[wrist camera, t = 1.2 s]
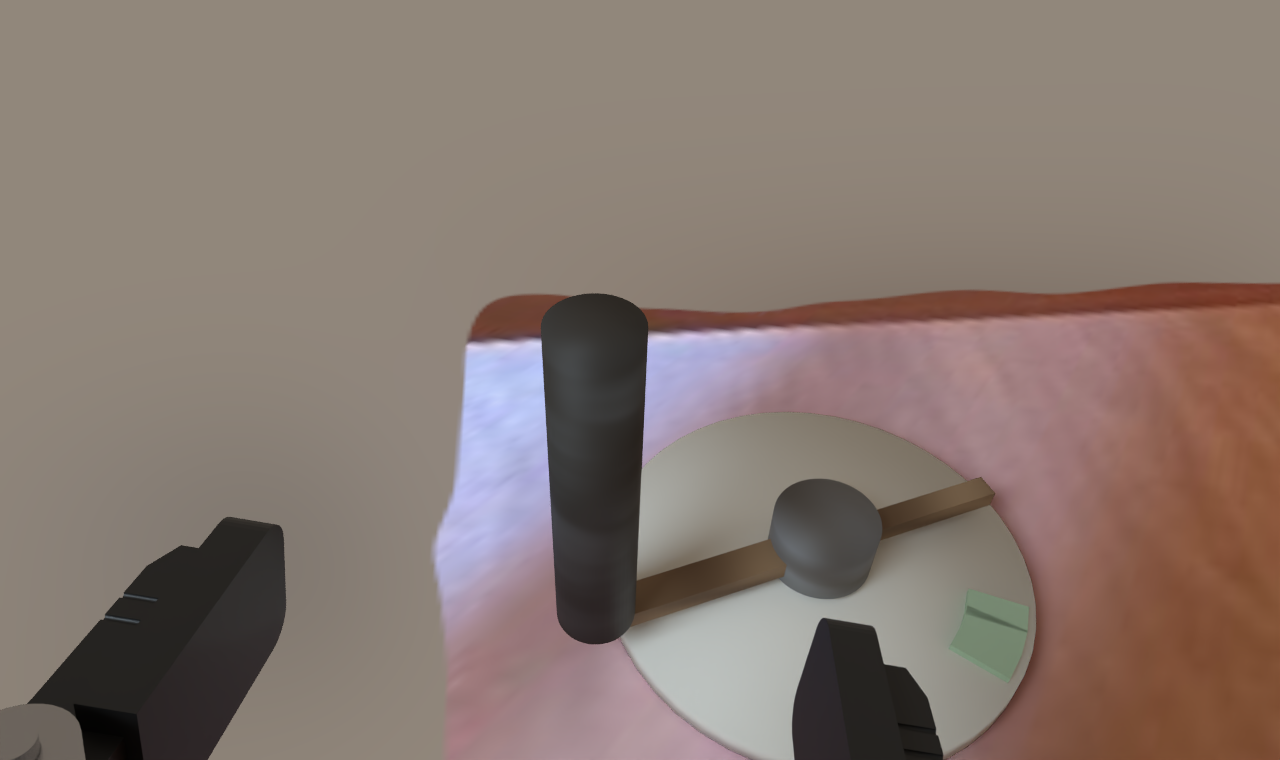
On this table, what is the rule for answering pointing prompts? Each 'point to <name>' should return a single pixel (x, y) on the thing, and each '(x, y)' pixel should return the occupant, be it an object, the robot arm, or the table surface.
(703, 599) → the dial
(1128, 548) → the table surface
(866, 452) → the plate
